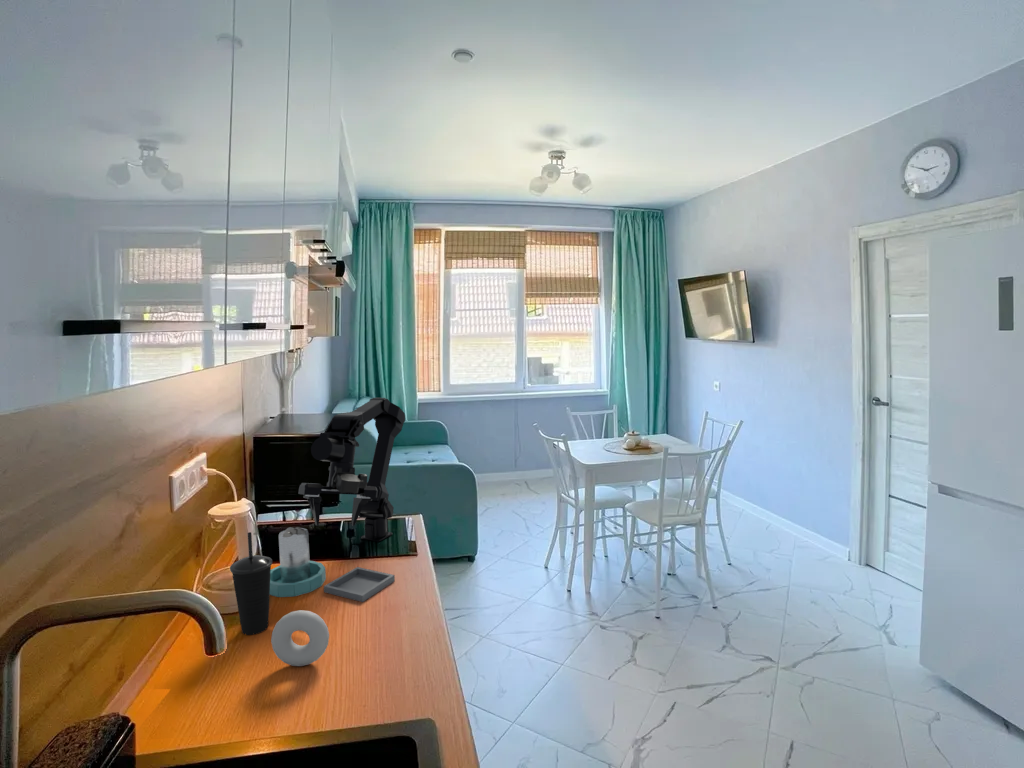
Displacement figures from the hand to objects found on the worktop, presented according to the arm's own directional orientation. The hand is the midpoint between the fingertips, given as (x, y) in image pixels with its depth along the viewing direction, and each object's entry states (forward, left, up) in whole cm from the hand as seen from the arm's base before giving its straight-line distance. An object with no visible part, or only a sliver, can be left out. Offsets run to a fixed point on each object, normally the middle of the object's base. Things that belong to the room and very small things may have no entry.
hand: (335, 525), depth 139 cm
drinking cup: (+29, +6, -11) cm, 32 cm away
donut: (+34, +24, -11) cm, 43 cm away
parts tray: (+7, +14, -11) cm, 19 cm away
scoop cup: (+12, -1, -10) cm, 16 cm away
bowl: (+12, -1, -11) cm, 17 cm away
